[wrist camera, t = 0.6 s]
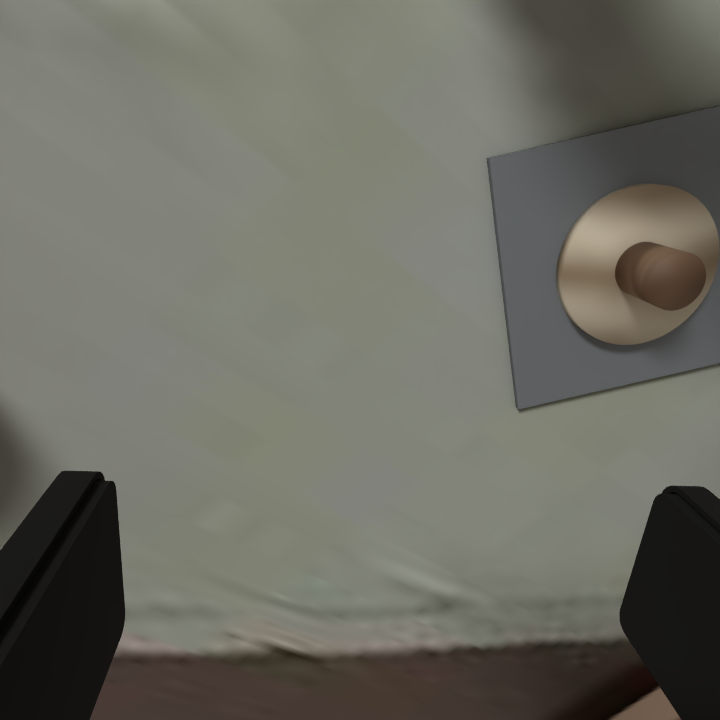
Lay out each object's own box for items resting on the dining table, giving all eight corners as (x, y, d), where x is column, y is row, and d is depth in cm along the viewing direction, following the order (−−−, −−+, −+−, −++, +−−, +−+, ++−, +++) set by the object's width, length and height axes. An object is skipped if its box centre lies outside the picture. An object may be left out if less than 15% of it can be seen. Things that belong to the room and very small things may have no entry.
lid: (549, 203, 41) (584, 211, 35) (710, 167, 41) (769, 169, 35) (561, 354, 45) (595, 381, 40) (707, 321, 45) (759, 344, 40)
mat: (486, 158, 40) (489, 158, 39) (760, 96, 40) (767, 95, 39) (515, 406, 47) (518, 409, 46) (747, 353, 47) (752, 355, 47)
